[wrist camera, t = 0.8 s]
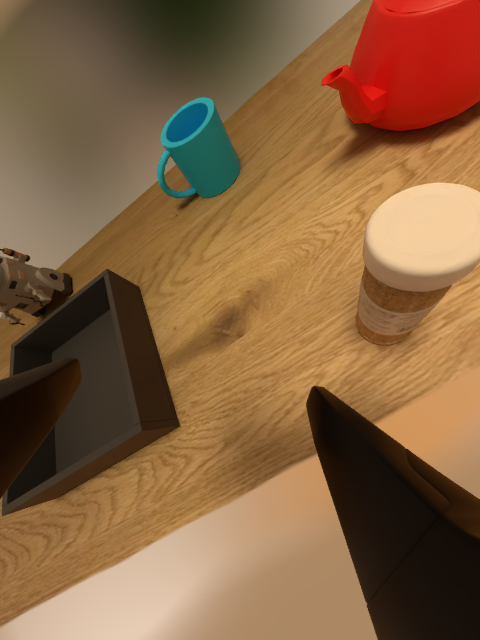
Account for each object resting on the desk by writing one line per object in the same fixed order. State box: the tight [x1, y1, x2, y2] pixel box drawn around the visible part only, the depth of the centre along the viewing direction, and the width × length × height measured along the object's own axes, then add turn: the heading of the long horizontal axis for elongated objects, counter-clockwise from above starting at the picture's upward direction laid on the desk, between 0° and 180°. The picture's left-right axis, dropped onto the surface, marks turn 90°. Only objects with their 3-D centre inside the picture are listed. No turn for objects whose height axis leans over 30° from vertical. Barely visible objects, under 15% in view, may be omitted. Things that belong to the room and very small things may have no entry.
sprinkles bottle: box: [356, 183, 480, 345], centre depth 15 cm, size 5×5×13 cm
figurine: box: [0, 248, 73, 325], centre depth 37 cm, size 9×12×15 cm
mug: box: [157, 97, 240, 198], centre depth 34 cm, size 12×8×8 cm
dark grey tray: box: [2, 269, 179, 516], centre depth 30 cm, size 22×20×6 cm
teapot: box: [321, 0, 480, 131], centre depth 22 cm, size 25×16×12 cm, turn 124°
